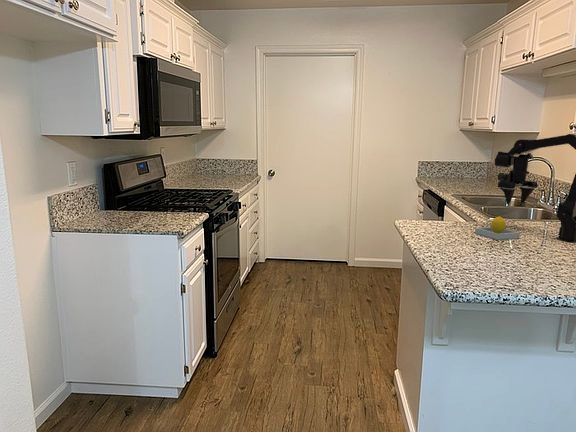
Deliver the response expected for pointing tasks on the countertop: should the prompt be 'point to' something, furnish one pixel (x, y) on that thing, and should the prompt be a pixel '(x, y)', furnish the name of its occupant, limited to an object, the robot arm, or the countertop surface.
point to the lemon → (498, 225)
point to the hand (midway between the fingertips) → (515, 203)
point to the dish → (502, 236)
